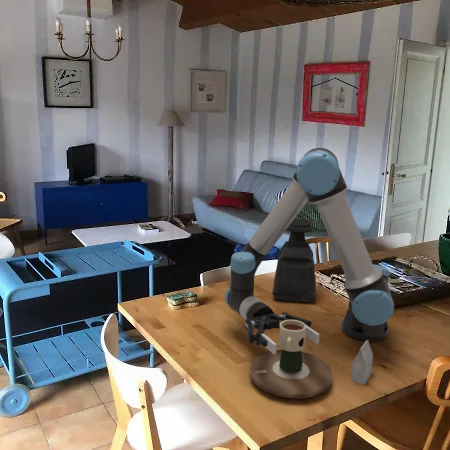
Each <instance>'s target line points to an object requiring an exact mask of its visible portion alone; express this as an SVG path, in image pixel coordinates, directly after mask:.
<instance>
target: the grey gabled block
mask: <svg viewBox="0 0 450 450" xmlns="http://www.w3.org/2000/svg"><path fill="white" fill-rule="evenodd" d="M373 358H374V354H373V351H372V348H371V346H370V342H369V341H367V340H366V341H364V343H363V345H362V346H361V347H360V349H359V351H358V353H357V355H355V358H354V359H353V360H352V364H351V366H352V367H351V375H350V376H351V377H350V381H351V382H353V383H356V384H359V385H363V386H365V385H366V383H367V382H368V380H369V378H370V377H371V375H372V371H373V370H372V368H373V360H374V359H373Z"/></svg>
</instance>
